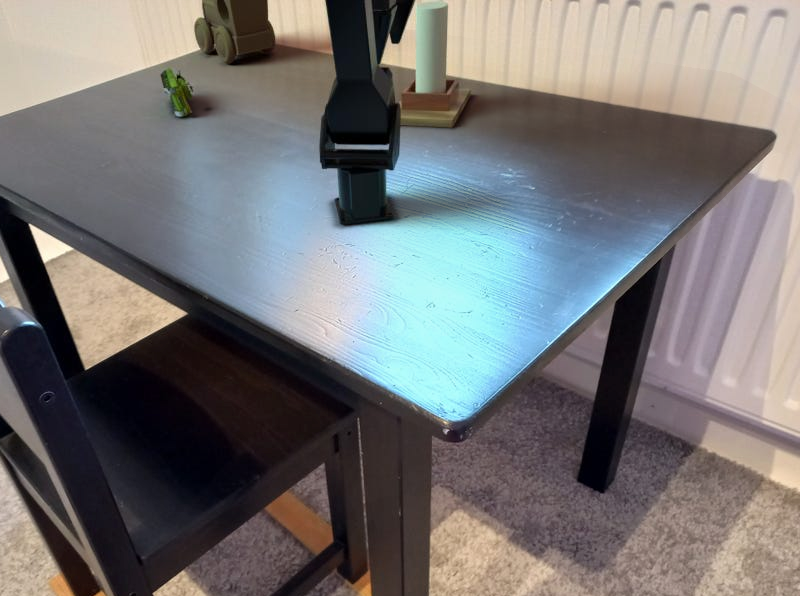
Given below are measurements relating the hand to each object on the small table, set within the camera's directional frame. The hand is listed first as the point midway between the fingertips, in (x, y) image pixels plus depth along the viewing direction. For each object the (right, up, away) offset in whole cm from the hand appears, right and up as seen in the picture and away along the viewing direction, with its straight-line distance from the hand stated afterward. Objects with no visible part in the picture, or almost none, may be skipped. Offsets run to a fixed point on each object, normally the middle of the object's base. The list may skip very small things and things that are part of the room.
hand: (386, 53), depth 92 cm
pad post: (+9, 0, +18) cm, 20 cm away
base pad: (+9, -1, +19) cm, 21 cm away
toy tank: (-32, +6, +33) cm, 46 cm away
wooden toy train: (-26, +23, +54) cm, 64 cm away
